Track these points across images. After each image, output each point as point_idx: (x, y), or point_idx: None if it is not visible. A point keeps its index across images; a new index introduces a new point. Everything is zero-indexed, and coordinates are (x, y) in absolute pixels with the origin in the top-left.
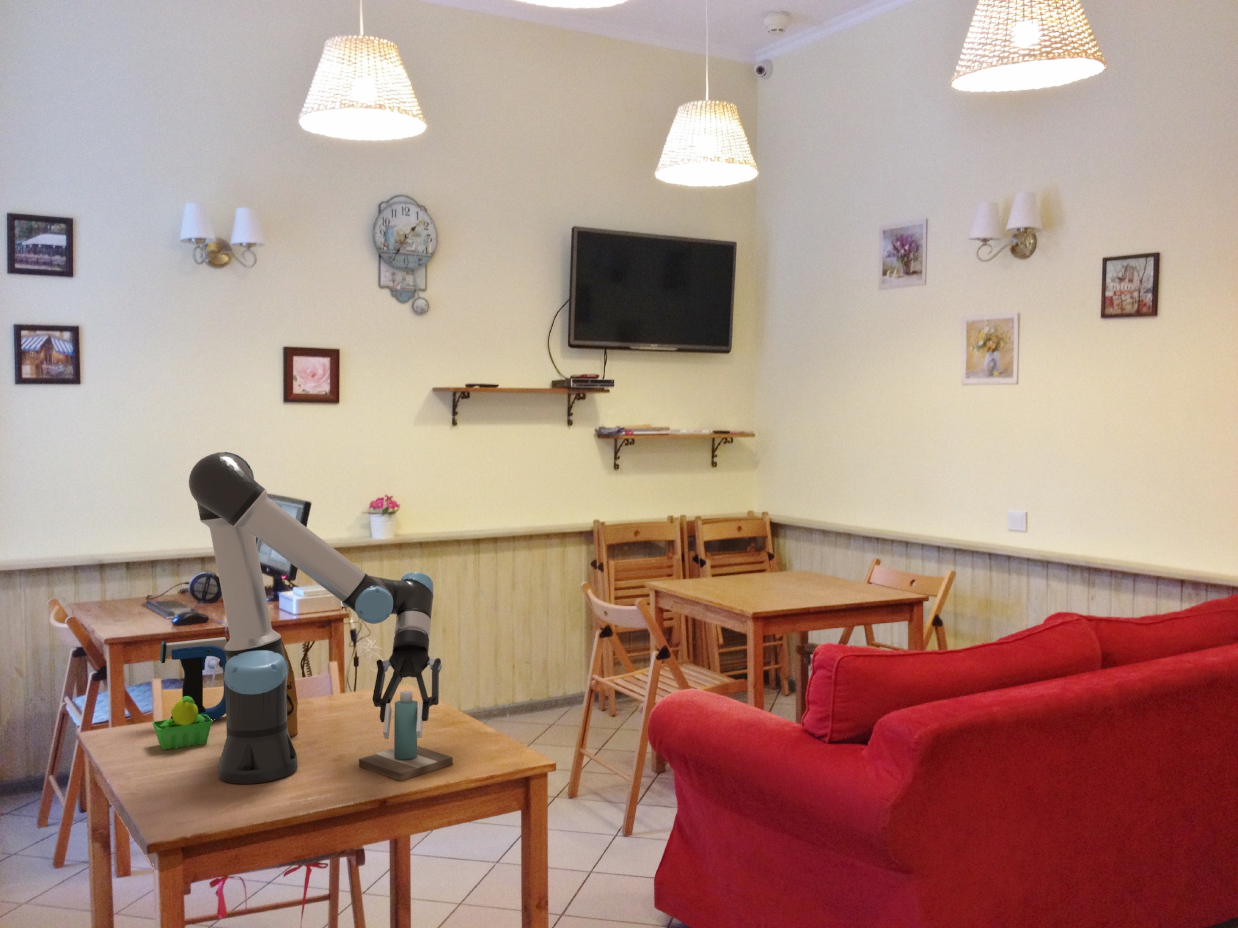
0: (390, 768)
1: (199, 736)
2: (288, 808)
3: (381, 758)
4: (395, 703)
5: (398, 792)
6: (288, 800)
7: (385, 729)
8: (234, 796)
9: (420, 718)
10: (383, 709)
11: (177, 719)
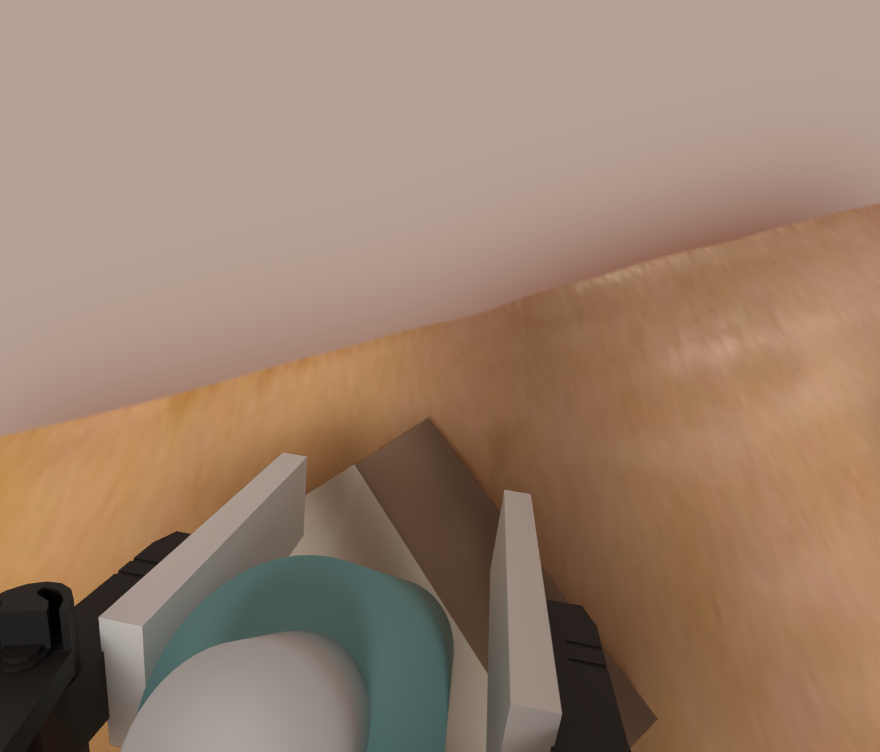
0: (470, 493)
1: None
2: (764, 286)
3: None
4: (436, 658)
5: (440, 328)
6: (798, 344)
7: (516, 503)
8: None
9: (234, 503)
10: (578, 691)
11: None
